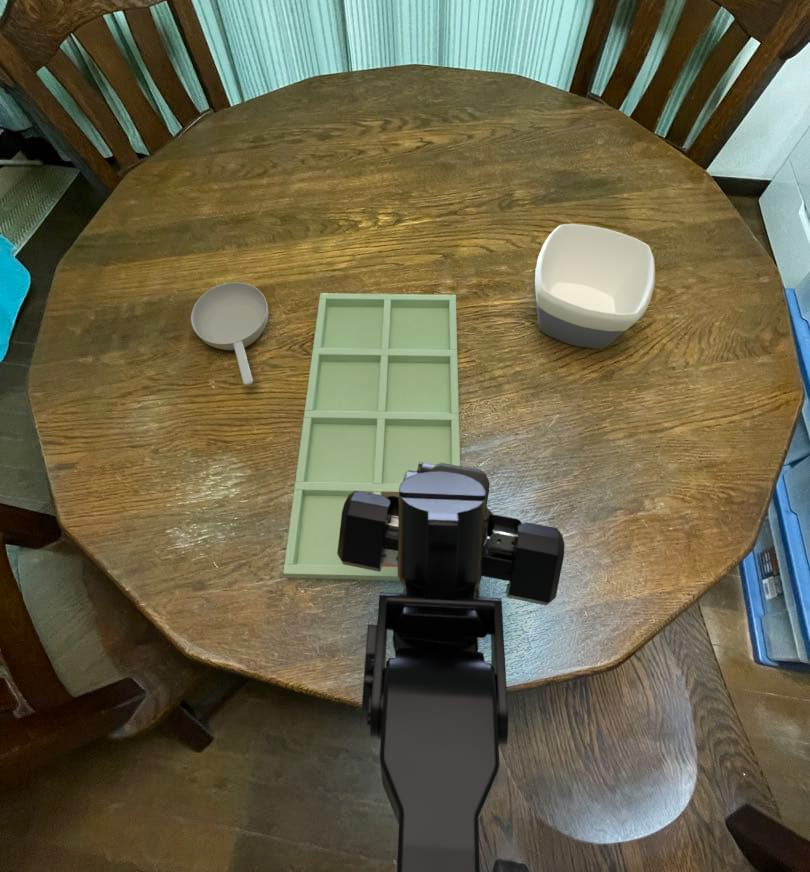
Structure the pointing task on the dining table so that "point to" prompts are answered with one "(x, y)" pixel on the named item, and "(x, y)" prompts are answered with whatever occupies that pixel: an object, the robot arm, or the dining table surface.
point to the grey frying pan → (231, 320)
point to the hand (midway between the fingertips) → (454, 501)
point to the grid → (370, 415)
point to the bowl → (592, 284)
